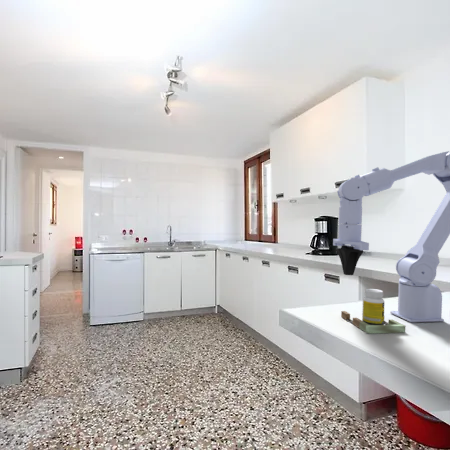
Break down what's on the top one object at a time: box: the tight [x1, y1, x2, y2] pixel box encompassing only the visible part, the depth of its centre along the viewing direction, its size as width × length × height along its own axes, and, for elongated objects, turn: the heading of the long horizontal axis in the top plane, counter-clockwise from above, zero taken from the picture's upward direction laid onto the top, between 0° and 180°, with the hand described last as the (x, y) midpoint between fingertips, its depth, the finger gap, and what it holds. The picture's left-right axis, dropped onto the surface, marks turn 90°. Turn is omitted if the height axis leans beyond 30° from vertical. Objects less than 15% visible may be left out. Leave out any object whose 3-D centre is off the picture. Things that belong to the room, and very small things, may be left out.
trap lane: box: [340, 310, 406, 335], centre depth 77 cm, size 9×12×2 cm
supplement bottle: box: [361, 288, 385, 325], centre depth 76 cm, size 5×5×8 cm
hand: (348, 274), depth 85 cm, fingers closed
